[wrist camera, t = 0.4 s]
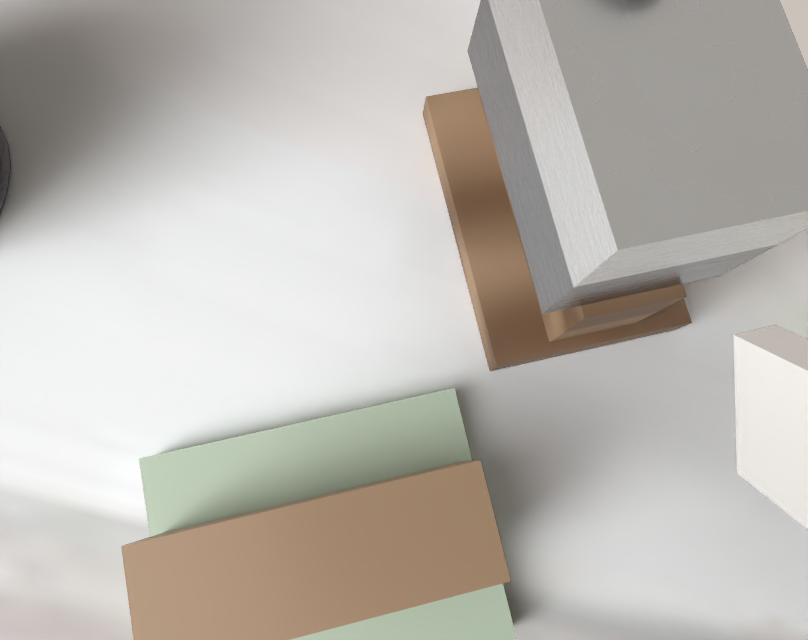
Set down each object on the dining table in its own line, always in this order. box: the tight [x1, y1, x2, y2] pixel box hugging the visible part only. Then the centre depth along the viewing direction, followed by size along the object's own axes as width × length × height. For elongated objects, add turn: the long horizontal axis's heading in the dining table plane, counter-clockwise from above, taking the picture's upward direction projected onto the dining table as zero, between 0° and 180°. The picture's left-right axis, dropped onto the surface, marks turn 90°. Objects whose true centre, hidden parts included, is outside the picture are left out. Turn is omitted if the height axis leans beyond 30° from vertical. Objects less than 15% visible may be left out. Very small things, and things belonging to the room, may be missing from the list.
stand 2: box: [423, 88, 692, 371], centre depth 28 cm, size 13×9×6 cm
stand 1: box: [121, 388, 517, 640], centre depth 24 cm, size 10×13×6 cm
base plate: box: [468, 0, 778, 314], centre depth 23 cm, size 11×7×4 cm, turn 13°
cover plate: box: [488, 0, 808, 288], centre depth 19 cm, size 11×7×5 cm, turn 13°
